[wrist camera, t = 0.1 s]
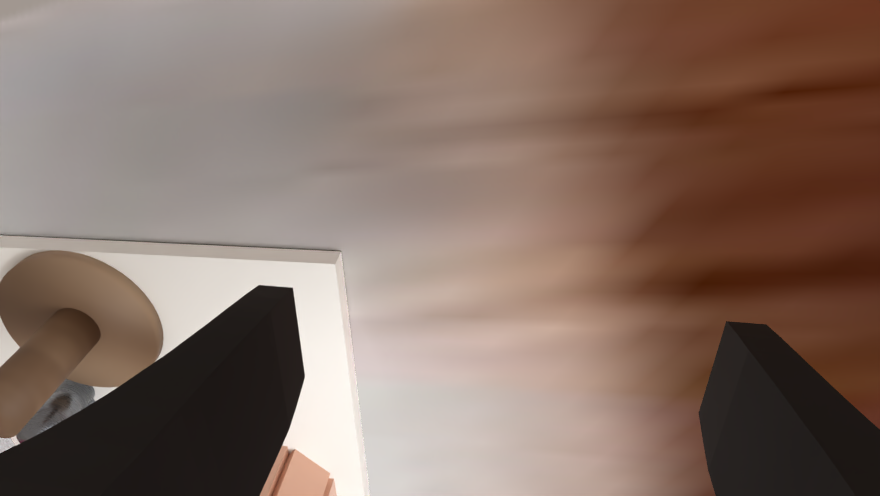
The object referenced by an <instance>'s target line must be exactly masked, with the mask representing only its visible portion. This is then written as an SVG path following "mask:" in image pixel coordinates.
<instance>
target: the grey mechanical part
mask: <svg viewBox="0 0 880 496" xmlns="http://www.w3.org/2000/svg"><path fill="white" fill-rule="evenodd" d="M94 396H95V390H94V388H93V387H92V386H89V385H84V384H80V383H77V382H74V381H71V380H68V379H65V380H64V382H63V383H62V384H61V385H60V386H59V387H58V388H57V390H56V391H55V392H54V393H53V394H52V395H51V396H50V398H49V399H48V400H47V401H46V402H45V403H44V404H43V406H42V407H41V408H40V409H39V410H38V411H37V413H36V414H35V415H34V416H33V417H32V418H31V419H30V421H29V422H28V423H27V424H26V425H25V426H24V427H23V429H22V430H21V431H20V432H19V433H18V434H17V435H16V437H17V440H18V441H19V443H22V442H24V441H26V440H28V439H30V438H32V437H34V436H36V435H38V434H40V433H42V432H43V431H45V430H47V429H49V428H51V427H52V426H54V425H56V424H58V423H59V422H61V421H63V420H65V419H66V418H68V417H70V416H72V415H73V414H75V413H77V412H79V411H80V410H82V409H84V408H85V407H87V406H89V405H90V404H92V403H94V402H95V400H94Z"/></svg>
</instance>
